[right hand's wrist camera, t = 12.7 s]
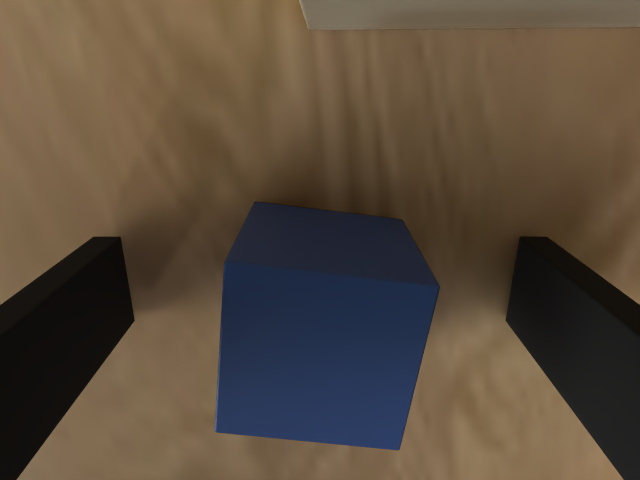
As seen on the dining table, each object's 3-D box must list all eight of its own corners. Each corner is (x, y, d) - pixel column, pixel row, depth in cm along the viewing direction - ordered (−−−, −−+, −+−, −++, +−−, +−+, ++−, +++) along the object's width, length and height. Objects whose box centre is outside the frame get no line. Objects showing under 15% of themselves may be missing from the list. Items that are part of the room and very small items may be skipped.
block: (243, 330, 14) (213, 433, 10) (254, 201, 12) (223, 261, 8) (377, 345, 14) (399, 451, 10) (403, 219, 13) (441, 286, 9)
